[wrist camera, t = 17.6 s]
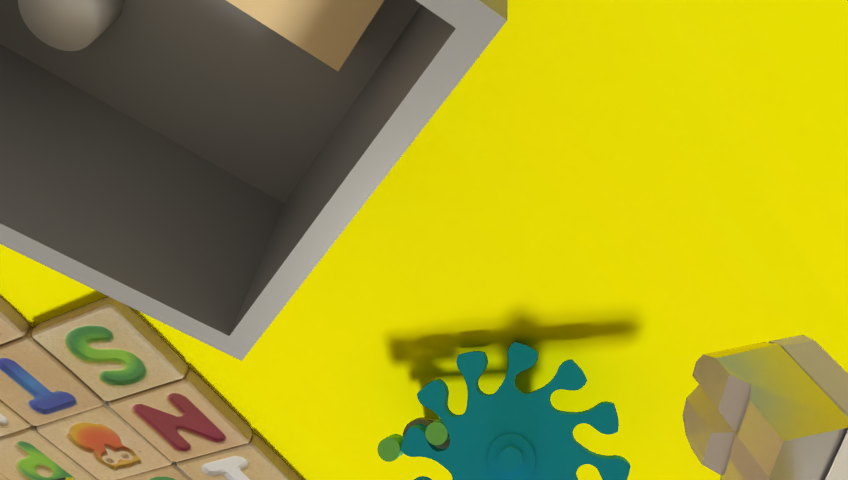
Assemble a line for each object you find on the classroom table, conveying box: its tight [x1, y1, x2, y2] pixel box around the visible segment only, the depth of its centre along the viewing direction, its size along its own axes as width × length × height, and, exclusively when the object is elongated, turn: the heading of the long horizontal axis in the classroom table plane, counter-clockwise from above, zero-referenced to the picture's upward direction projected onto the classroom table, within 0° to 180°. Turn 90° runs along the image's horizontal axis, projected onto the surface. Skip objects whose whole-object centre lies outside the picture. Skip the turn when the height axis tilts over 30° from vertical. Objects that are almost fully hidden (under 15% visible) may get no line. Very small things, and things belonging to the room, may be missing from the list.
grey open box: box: [0, 0, 507, 361], centre depth 21 cm, size 14×14×8 cm
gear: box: [378, 342, 630, 480], centre depth 35 cm, size 11×6×10 cm
